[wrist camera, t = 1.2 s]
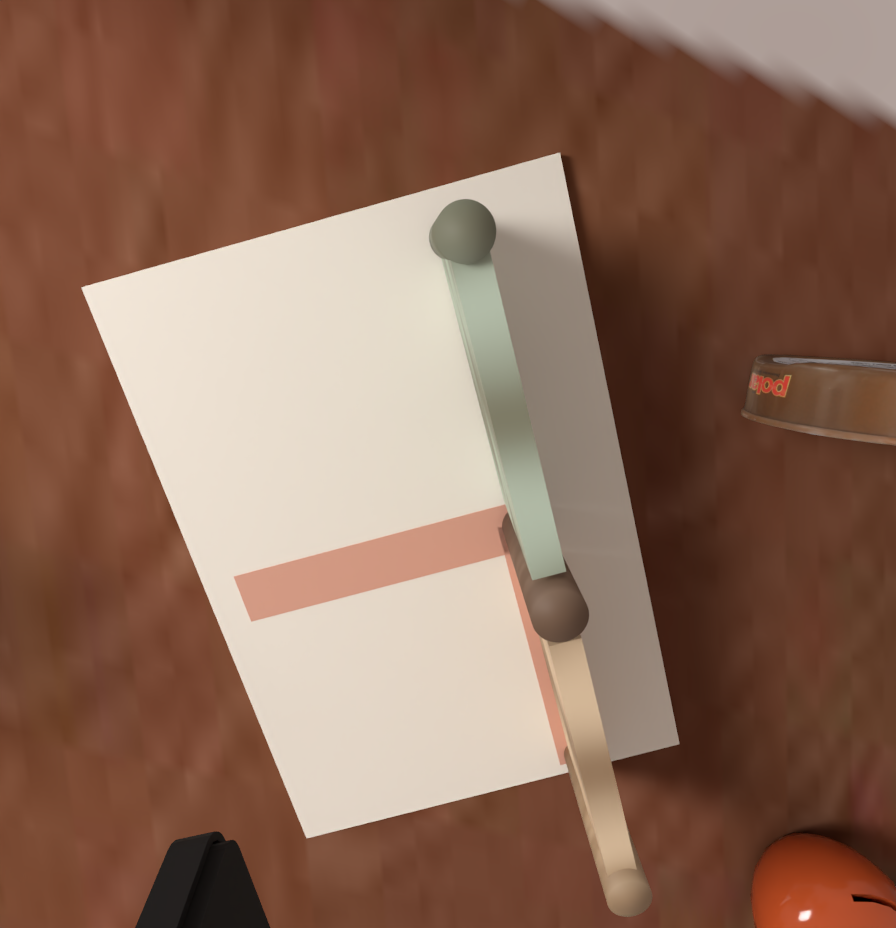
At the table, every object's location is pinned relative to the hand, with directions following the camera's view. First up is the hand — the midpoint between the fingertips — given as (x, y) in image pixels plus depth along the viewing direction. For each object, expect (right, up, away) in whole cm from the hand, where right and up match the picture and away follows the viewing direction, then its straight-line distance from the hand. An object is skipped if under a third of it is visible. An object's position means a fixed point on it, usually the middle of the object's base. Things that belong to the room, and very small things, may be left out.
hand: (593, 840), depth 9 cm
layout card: (-3, +2, +24) cm, 24 cm away
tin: (+17, +9, +23) cm, 30 cm away
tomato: (+17, -17, +30) cm, 39 cm away
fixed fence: (+3, -4, +25) cm, 26 cm away
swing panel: (0, +9, +21) cm, 23 cm away
